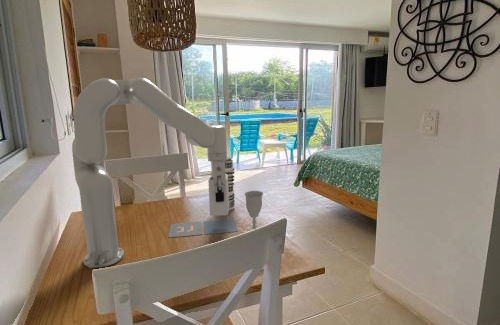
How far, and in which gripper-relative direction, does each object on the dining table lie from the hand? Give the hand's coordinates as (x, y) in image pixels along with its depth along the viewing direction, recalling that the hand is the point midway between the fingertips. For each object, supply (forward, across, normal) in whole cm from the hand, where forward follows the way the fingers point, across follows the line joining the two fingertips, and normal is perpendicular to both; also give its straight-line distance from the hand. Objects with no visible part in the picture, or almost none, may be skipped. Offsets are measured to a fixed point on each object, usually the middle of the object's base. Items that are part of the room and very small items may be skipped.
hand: (219, 197), depth 128 cm
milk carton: (+7, 0, 0) cm, 7 cm away
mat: (+13, 0, 0) cm, 13 cm away
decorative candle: (+13, +22, -5) cm, 26 cm away
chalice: (+13, -14, -12) cm, 22 cm away
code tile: (+12, 0, +14) cm, 19 cm away
